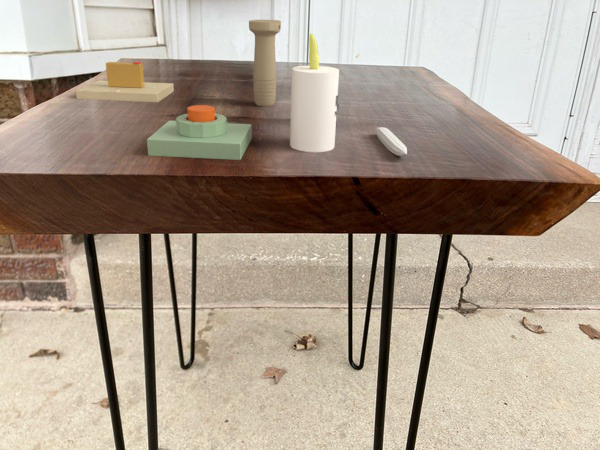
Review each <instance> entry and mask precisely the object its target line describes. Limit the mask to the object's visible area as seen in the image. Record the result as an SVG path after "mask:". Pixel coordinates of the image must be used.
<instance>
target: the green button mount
mask: <svg viewBox="0 0 600 450" xmlns="http://www.w3.org/2000/svg"><path fill="white" fill-rule="evenodd" d="M252 137H253V135H252V124H250V123H233V122H230V123H229V122H228V118H227V117H226V116H225V115H223V114H220V113H215V120H214V121H210V122H192V121H188V113H184V114H180V115H178V116H177V117H176V118H175V120H168V121H166V123H164V124H163V125H162V126H160V128H158V129H157V130H156V131H154V133H152V134H151V135H150V136H149V137H148V138H147V139H146V145H147V146H146V147H147V156H151V157H171V158H172V157H174V158H190V159H191V158H194V159H210V160H211V159H212V160H232V161H233V160H234V161H241V160H242V158H243V156H244V154H245V153H246V150H247V149H248V147H249V145H250V143H251V141H252V140H253V139H252Z"/></svg>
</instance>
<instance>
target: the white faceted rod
mask: <svg viewBox="0 0 600 450" xmlns="http://www.w3.org/2000/svg"><path fill="white" fill-rule="evenodd" d="M375 134H376V138H377V139H378V140H379V141H380V142H381V143H382V144H383V146H384V147H385V148H386V149H387V150H388V151H390V152H391V153H392V154H394V155H396V156H398V157H399V156H407V154H408V148H407V145H405V144H404V143H403V142H402V141H401V140H400V139H399V138H398V137H397V136H396V135H395V134H394V133H393V132H392V131H391V130H390V129H388V128H387V127H384V126H380V127H376V129H375Z"/></svg>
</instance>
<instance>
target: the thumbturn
mask: <svg viewBox="0 0 600 450" xmlns="http://www.w3.org/2000/svg"><path fill="white" fill-rule="evenodd" d="M105 69H106V78H107V81H108V86H109V87H132V88H142V87H144V86H145V85H144V82H145V75H144V65H143V63H142V61H134V62H126V61H125V62H122V61H107V62H105Z"/></svg>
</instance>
